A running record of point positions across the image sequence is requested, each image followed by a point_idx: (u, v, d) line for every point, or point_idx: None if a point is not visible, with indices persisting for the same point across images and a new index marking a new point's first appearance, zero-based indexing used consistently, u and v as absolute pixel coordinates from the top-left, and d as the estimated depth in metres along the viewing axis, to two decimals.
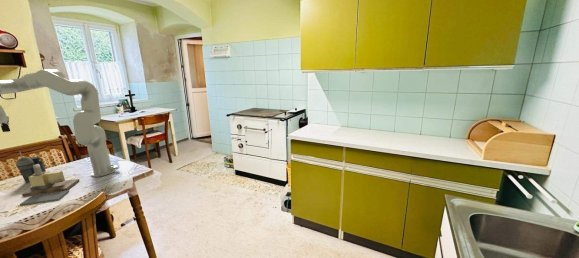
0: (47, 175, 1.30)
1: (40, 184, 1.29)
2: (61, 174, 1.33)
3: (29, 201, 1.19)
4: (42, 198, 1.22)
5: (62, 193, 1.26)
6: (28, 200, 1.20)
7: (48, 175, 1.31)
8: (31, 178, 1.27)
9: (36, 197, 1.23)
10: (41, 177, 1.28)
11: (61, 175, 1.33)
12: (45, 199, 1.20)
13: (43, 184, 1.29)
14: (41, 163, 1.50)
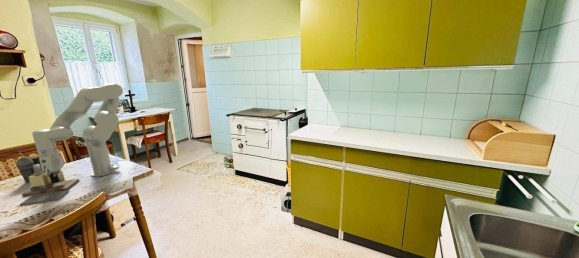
0: None
1: (40, 184, 1.29)
2: (61, 174, 1.33)
3: (29, 201, 1.19)
4: (42, 198, 1.22)
5: (62, 193, 1.26)
6: (28, 200, 1.20)
7: None
8: (31, 178, 1.27)
9: (36, 197, 1.23)
10: (41, 177, 1.28)
11: (61, 175, 1.33)
12: (45, 199, 1.20)
13: (43, 184, 1.29)
14: None
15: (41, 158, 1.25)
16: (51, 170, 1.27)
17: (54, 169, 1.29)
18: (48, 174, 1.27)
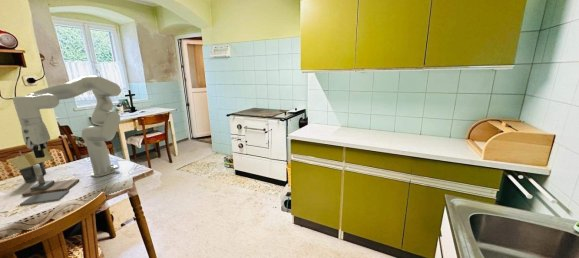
0: (30, 155, 1.16)
1: (26, 165, 1.15)
2: (46, 151, 1.18)
3: (29, 201, 1.19)
4: (42, 198, 1.22)
5: (62, 193, 1.26)
6: (28, 200, 1.20)
7: (31, 154, 1.16)
8: (13, 160, 1.13)
9: (36, 197, 1.23)
10: (24, 157, 1.14)
11: (46, 152, 1.18)
12: (45, 199, 1.20)
13: (29, 165, 1.15)
14: (41, 163, 1.50)
15: (23, 128, 1.10)
16: (34, 142, 1.12)
17: (38, 141, 1.13)
18: (31, 146, 1.12)
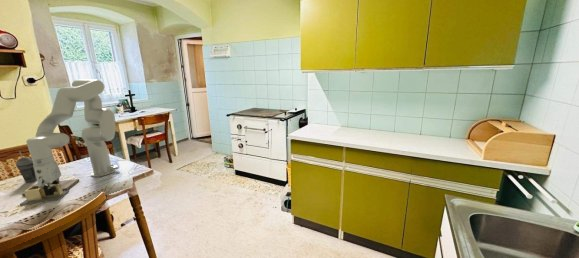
0: None
1: (37, 198, 1.19)
2: (59, 187, 1.23)
3: None
4: None
5: None
6: None
7: None
8: (27, 192, 1.18)
9: None
10: (38, 191, 1.19)
11: (59, 188, 1.23)
12: (45, 199, 1.20)
13: (40, 198, 1.20)
14: None
15: (36, 168, 1.15)
16: (47, 181, 1.17)
17: (50, 180, 1.19)
18: (42, 185, 1.16)
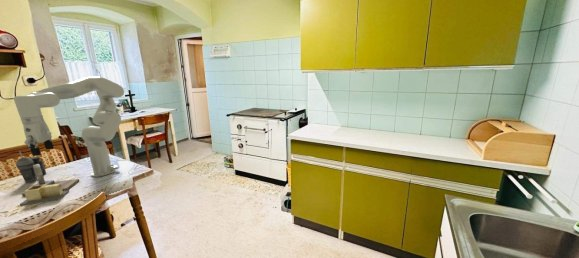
0: (44, 188, 1.21)
1: (37, 198, 1.19)
2: (59, 187, 1.23)
3: None
4: None
5: None
6: None
7: (45, 188, 1.21)
8: (27, 192, 1.18)
9: None
10: (38, 191, 1.19)
11: (59, 188, 1.23)
12: (45, 199, 1.20)
13: (40, 198, 1.20)
14: (41, 163, 1.50)
15: (25, 126, 1.12)
16: (37, 140, 1.14)
17: (40, 139, 1.16)
18: (28, 142, 1.11)
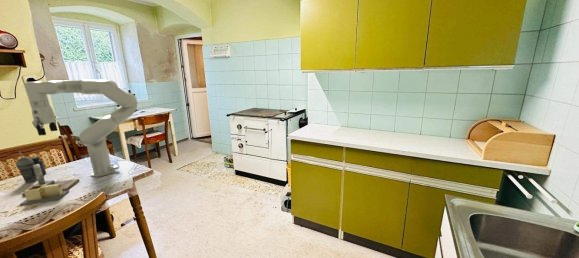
0: (44, 188, 1.21)
1: (37, 198, 1.19)
2: (59, 187, 1.23)
3: None
4: None
5: None
6: None
7: (45, 188, 1.21)
8: (27, 192, 1.18)
9: None
10: (38, 191, 1.19)
11: (59, 188, 1.23)
12: (45, 199, 1.20)
13: (40, 198, 1.20)
14: (41, 163, 1.50)
15: (33, 109, 1.28)
16: (43, 121, 1.30)
17: (46, 121, 1.31)
18: (35, 122, 1.27)
